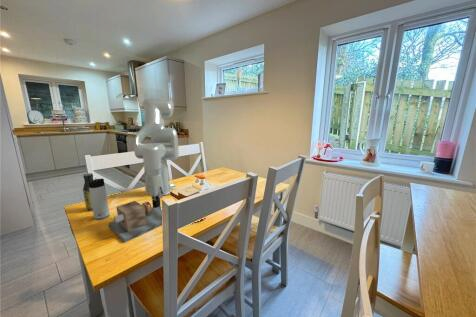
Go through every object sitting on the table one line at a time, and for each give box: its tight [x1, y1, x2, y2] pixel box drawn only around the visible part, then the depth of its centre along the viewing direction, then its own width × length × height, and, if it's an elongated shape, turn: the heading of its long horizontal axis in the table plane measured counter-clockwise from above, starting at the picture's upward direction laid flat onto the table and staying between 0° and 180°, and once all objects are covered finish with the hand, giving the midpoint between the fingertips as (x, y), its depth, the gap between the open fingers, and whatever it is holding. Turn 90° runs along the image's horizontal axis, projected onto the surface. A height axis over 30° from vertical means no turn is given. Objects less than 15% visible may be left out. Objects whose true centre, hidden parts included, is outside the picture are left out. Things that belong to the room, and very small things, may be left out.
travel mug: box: [88, 178, 110, 221], centre depth 94 cm, size 6×7×20 cm
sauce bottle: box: [82, 172, 94, 212], centre depth 103 cm, size 7×6×20 cm
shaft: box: [113, 201, 153, 223], centre depth 87 cm, size 14×6×6 cm, turn 141°
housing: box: [107, 200, 163, 243], centre depth 91 cm, size 24×18×10 cm
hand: (156, 206), depth 96 cm, fingers closed
